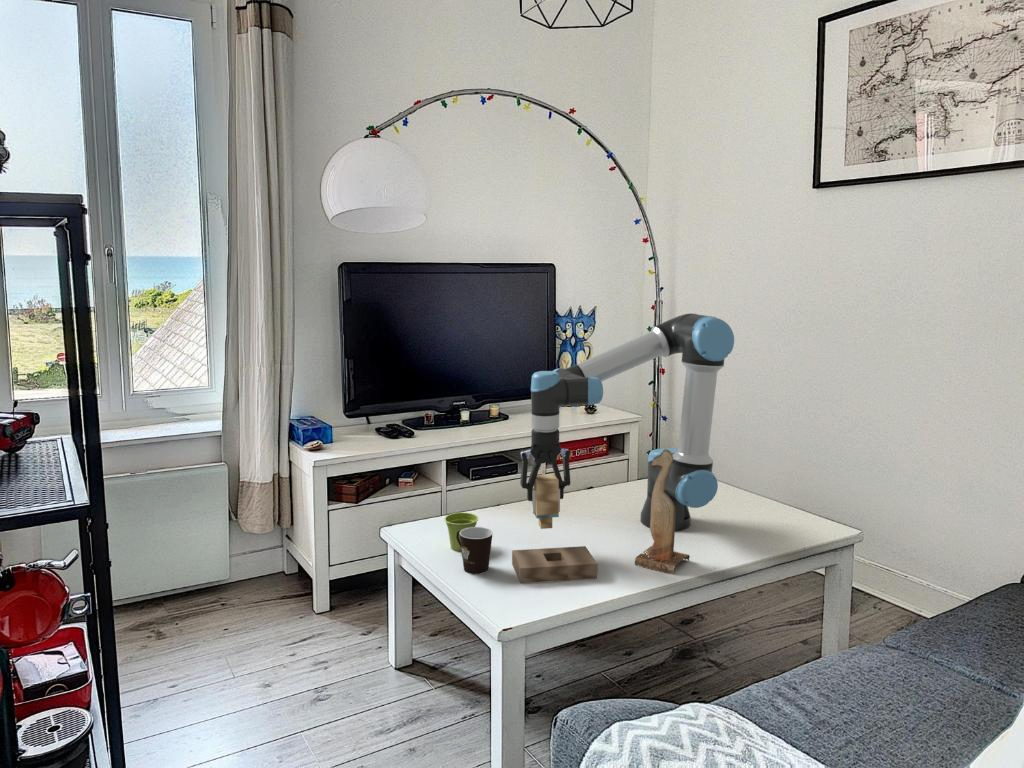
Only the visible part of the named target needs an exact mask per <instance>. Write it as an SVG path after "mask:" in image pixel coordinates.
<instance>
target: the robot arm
mask: <svg viewBox="0 0 1024 768" xmlns="http://www.w3.org/2000/svg"><path fill="white" fill-rule="evenodd" d="M734 345H735V335H734V332H733V329H732V328H731V326H730V325H729V324H728V322H726V321H725V320H724V319H721V318H719V317H718V318H717V317H716V316H712V315H703V314H698V313H692V312H691V313H684V314H680V315H678V316H676V317H673V318H671V319H668V320H666V321H664V322H661V323H659V324H656V325H655V326H653V327H651V330H650V331H649V332H648V333H646V334H643V335H640V336H638V337H636V338H634V339H630V340H629V341H626V342H625V343H621V344H620V345H618V346H615V347H613V348H611V349H608V350H607V351H604V352H602V353H600V354H597V355H595V356H593V357H590V358H588V359H586V360H583V361H581V362H578V363H576V364H573V365H572V366H569V367H567V368H565V367H564V368H563V367H562V368H561V367H560V368H556V369H553V370H540V371H536V372H533V374H532V375H531V383H530V392H531V393H530V399H531V400H530V401H531V421H530V422H531V425H530V426H531V428H532V430H531V432H530V433H531V434H530V435H531V437H530V438H531V442H530V443H531V445H530V448H529V449H528V450H525V451H524V450H520V453H519V454H520V458H521V467H520V468H521V470H520V486H521V488H522V489H526V497H527V500H528V502H530V511H531V513H532V514H533V515H534V514H535V513H536V491H535V489H534V487H533V486H534V483H535V479H536V477H537V475H539V471H540V467H541V466H542V464H550V465H551V468H552V471H553V474H554V475H555V476H556V478H557V479H558V480H559V513H560V512H561V500H563V499H564V494H565V491H564V489H565V488H566V487H569V486H570V485H571V469H570V456H571V453H572V452H571V451H570V449H568V448H562V447H561V445H560V430H559V428H560V409H561V408H560V407H570V406H571V407H572V406H574V407H575V406H590V405H598V404H600V403H601V402H602V400H603V397H604V387H603V383H602V382H604V381H606V380H608V379H610V378H614V377H615V376H617V375H620V374H622V373H624V372H627V371H629V370H631V369H634V368H636V367H638V366H640V365H643V364H645V363H647V362H650V361H652V360H654V359H656V358H659V357H662V358H666V357H669V356H672V355H675V354H676V355H677V354H681V364H682V365H683V366H684V368H685V378H684V386H683V387H684V388H683V396H682V407H681V414H680V415H681V416H680V425H679V426H680V427H679V436H678V445H677V448H672V447H671V448H670V447H669V448H656V449H652V450H651V451H650V452H648V453H649V454H648V459H647V460H648V461H647V489H646V491H647V492H646V493H647V494H646V495H647V496H646V499H645V502H644V503H643V507H642V510H641V512H640V519H639V520H640V523H641V524H642V525H643V526H646V527H648V528H650V520H651V499H652V493H653V489H654V485H655V482H656V480H657V477H658V475H659V472H660V470H661V468H660V467H652V461H653V458H654V457H656V456H658V455H660V454H661V453H662V452H663V451H664V449H667V450H669V451H670V452H671V453H672V455H673V462H672V464H671V467H670V469H669V472H668V475H667V478H666V483H665V489H664V492H665V493H666V494H667V495H668V496H669V497H670V499H671V500H672V502H673V504H674V506H675V511H676V515H675V531H681V530H686V529H687V528H689V527H690V526H691V521H692V520H691V519H692V518H691V514H690V510H689V508H692V509H693V508H694V509H696V508H697V509H698V508H702V507H705V506H706V505H708V504H709V502H711V501H713V500H714V498H715V497H716V494H717V492H718V489H719V488H718V487H719V485H718V484H719V482H718V479H717V477H716V476H715V474H714V473H713V465H714V459H712V457H711V456H710V454H709V451H710V450H709V449H710V444H711V443H710V440H711V433H712V432H711V431H712V423H713V414H714V408H715V407H714V405H715V396H716V389H717V388H716V387H717V386H716V385H717V378H718V372H719V371H720V370H721V369H722V368H724V366H725V359H726V358H727V357H729V355H730V354H731V353H732V352H733V349H734ZM530 455H532V457H533V458H534V459H533V465H532V468H531V471H530V474H529V477H528V466H529V465H528V464H529V461H528V460H529V459H530ZM559 455H561V457H562V470H563V471H562V472H563V478H562V476H561V472H560V470H559V466H558V462H557V457H558V456H559ZM527 479H528V481H527Z"/></svg>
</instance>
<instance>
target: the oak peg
mask: <svg viewBox="0 0 1024 768" xmlns="http://www.w3.org/2000/svg"><path fill="white" fill-rule="evenodd" d="M533 487H534V489H535V491H536V513H535V514H533V515H534V516H535V519H538V527H539V528H540V529H541V530H544V529H545V530H547V529H553V518H559V515H560V514H559V513H560V512H559V480H558V479H557V478H556V476H555V474H554V473H545V474H537V477H536V479H535V483H534V486H533Z"/></svg>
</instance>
